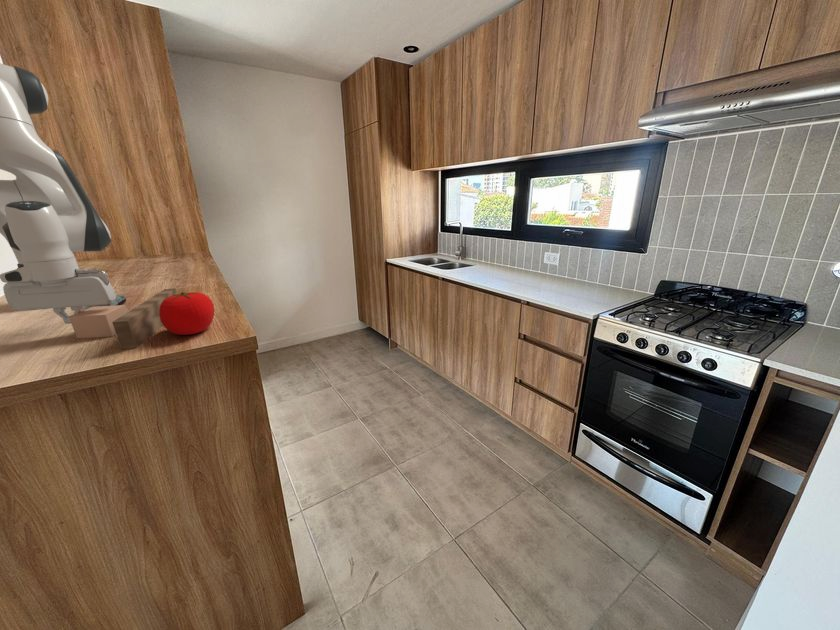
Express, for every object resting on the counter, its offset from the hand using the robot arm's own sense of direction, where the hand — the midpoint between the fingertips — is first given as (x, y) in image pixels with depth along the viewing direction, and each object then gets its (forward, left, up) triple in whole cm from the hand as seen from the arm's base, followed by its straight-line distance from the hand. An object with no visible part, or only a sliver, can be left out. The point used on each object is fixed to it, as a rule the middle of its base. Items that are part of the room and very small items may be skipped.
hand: (74, 322), depth 86 cm
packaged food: (-20, -4, -4) cm, 21 cm away
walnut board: (0, +17, -3) cm, 18 cm away
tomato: (+7, +28, -3) cm, 29 cm away
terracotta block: (0, +6, -3) cm, 7 cm away
